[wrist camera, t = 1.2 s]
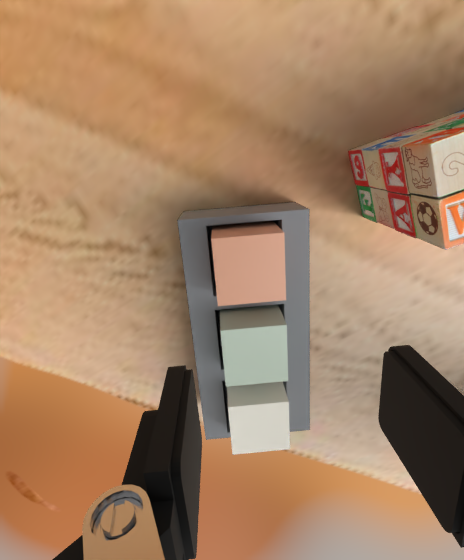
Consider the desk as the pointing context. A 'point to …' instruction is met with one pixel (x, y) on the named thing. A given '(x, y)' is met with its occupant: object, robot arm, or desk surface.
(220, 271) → the terracotta button
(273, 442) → the cream button
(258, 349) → the sage button
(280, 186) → the desk surface
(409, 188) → the stack of blocks
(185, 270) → the frame
